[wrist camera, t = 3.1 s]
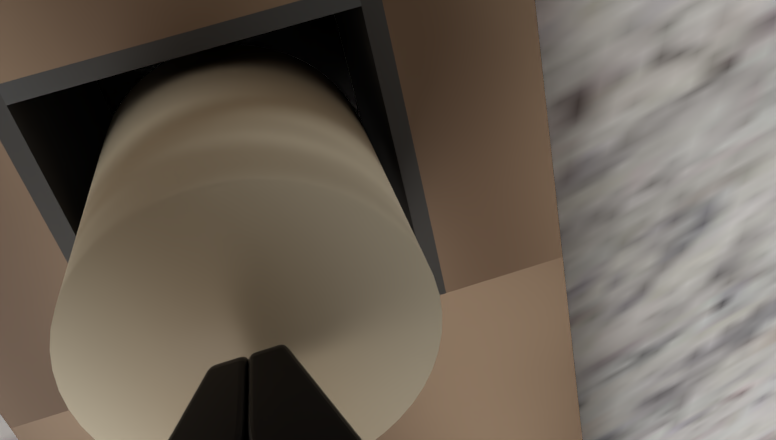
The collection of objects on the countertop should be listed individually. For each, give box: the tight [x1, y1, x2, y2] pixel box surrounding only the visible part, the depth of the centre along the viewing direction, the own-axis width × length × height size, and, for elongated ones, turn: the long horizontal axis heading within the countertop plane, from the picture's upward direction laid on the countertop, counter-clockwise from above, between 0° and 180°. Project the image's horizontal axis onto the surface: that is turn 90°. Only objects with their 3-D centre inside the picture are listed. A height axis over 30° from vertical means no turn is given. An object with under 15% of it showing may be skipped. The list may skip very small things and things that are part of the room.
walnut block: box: [0, 0, 582, 440], centre depth 17 cm, size 10×24×5 cm, turn 12°
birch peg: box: [50, 45, 442, 440], centre depth 10 cm, size 4×4×5 cm
